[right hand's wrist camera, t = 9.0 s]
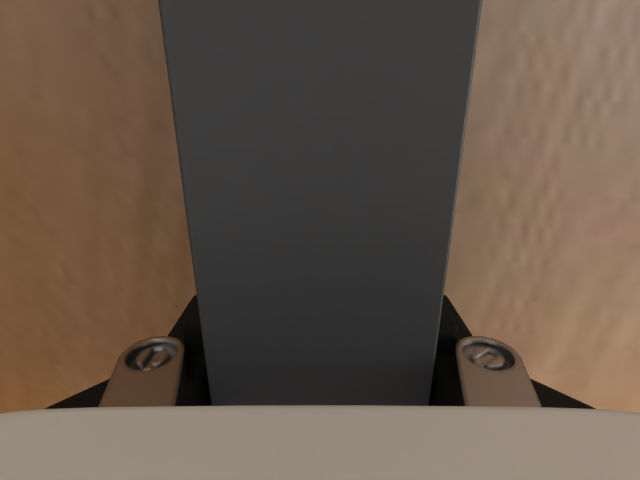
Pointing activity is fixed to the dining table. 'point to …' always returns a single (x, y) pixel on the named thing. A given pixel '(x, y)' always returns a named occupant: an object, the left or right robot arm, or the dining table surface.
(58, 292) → the dining table surface
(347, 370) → the post
